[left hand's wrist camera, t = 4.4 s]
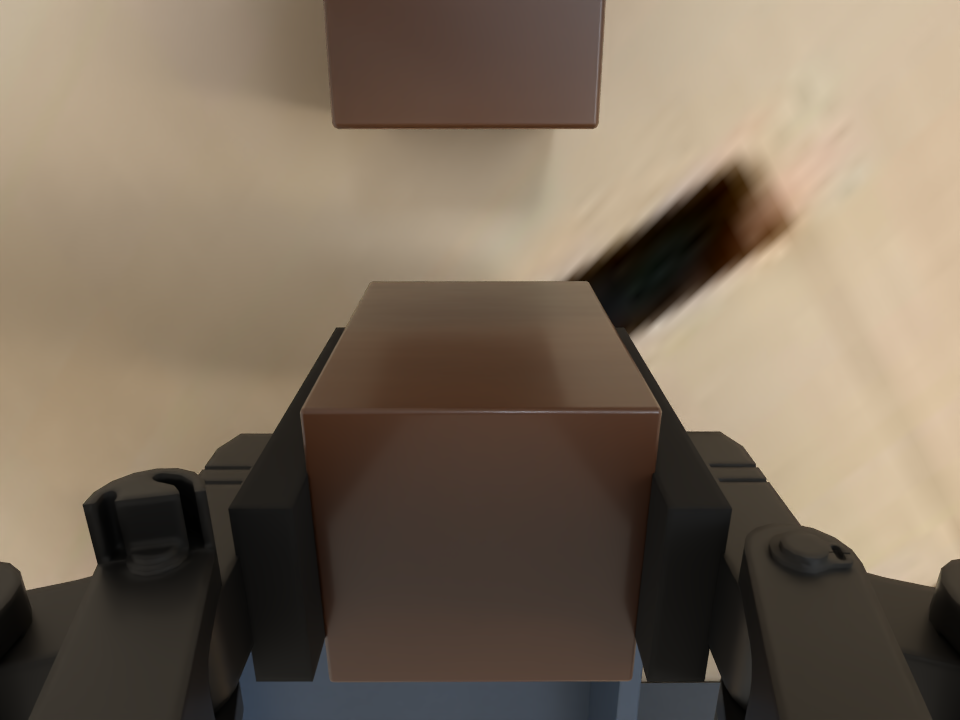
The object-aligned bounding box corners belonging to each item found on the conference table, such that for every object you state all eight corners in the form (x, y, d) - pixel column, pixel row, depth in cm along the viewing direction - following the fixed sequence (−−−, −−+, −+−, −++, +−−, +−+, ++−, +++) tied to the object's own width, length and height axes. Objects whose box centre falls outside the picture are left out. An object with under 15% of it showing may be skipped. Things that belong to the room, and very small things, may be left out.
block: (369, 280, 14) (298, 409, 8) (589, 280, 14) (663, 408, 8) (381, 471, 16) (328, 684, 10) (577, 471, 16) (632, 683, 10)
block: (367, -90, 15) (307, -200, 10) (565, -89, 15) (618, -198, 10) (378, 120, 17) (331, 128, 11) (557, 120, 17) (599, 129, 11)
